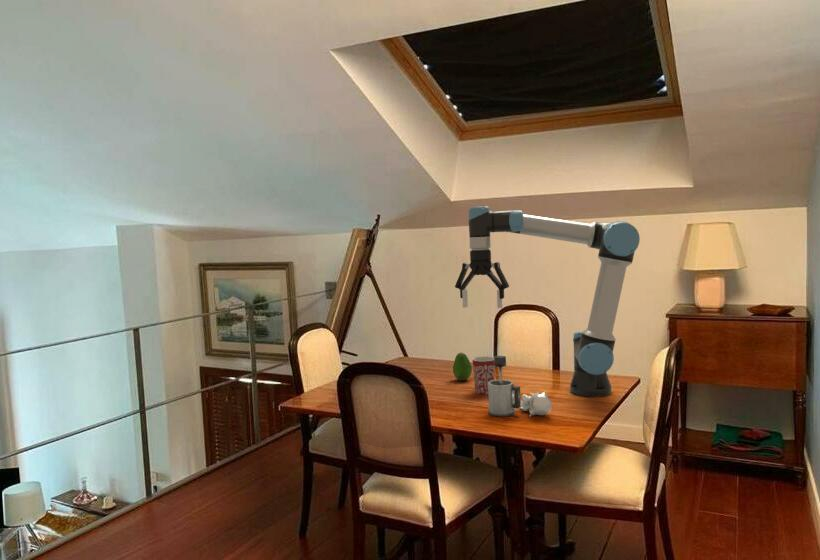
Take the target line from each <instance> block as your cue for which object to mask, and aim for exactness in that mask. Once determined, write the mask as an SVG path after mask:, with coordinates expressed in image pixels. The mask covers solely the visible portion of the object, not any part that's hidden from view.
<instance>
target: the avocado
mask: <svg viewBox="0 0 820 560" xmlns="http://www.w3.org/2000/svg"><path fill="white" fill-rule="evenodd" d="M472 371H473V365H472V364H471V362H470V359H469V357H468V355H466V354H465V353H464V352H457V354H456V356H455V358H454V361H453V365H452V372H453V375H454V377H455V378H456V380H458V381H465V380H468V379H469V378H470V377H471V375H472Z"/></svg>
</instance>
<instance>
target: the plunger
mask: <svg viewBox="0 0 820 560" xmlns="http://www.w3.org/2000/svg"><path fill="white" fill-rule="evenodd" d="M493 357H494V366H495V367H496V368H498V378H499V379H498V380H499V383H500V385H502V380H503V374H502V373H503V369H502V368H503V367H507V356H505V355H495V356H493Z"/></svg>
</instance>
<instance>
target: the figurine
mask: <svg viewBox="0 0 820 560" xmlns="http://www.w3.org/2000/svg"><path fill="white" fill-rule="evenodd" d="M529 394H530V395H527V394H525V393H524V394H522V395H520V399H521V400H520V402H521V407H520V408H519V409H521V410H522V411H523V412H527V411H529V413H530V414H529V415H528V417H529V418H530V417H532V416H536V415H537V416H544V415H545V416H546V415H547V414H549V413H550V411H552V400H551V399H550V397H549V396H548V395H547V391H544V392H542V393H541V392H539V391H538V392H537V391H536V392H535V393H533V392H530V393H529Z"/></svg>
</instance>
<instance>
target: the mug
mask: <svg viewBox="0 0 820 560" xmlns="http://www.w3.org/2000/svg"><path fill="white" fill-rule="evenodd" d="M494 357H495V356H489V355H487V356H486V355H485V356H484V355H483V356H482V355H481V356H480V355H479V356H475V357H472V358H471V361H472V371H473V381H474V382H473V383H474V392H475V394H477V395H480V396H488V382H490V381H494V380H495V372H496V371H495V369H496V368H495V367H496V366H494Z"/></svg>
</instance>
